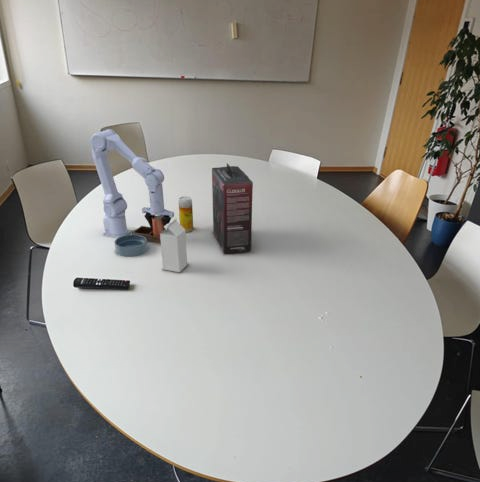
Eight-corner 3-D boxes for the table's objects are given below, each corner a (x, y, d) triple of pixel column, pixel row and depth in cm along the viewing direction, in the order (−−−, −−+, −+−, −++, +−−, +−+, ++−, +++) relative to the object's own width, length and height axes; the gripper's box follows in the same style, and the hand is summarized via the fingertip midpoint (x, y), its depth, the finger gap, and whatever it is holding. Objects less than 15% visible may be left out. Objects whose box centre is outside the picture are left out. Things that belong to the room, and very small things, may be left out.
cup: (150, 236, 188) (148, 219, 183) (157, 231, 192) (155, 214, 188) (162, 238, 186) (160, 221, 182) (169, 233, 191) (167, 216, 186)
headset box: (212, 231, 199) (210, 158, 182) (238, 229, 202) (239, 156, 184) (223, 254, 179) (222, 174, 161) (252, 252, 182) (254, 173, 164)
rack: (132, 239, 191) (131, 232, 189) (142, 232, 197) (141, 225, 196) (164, 245, 186) (163, 238, 184) (173, 238, 193) (172, 231, 191)
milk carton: (187, 264, 172) (184, 219, 161) (179, 272, 166) (176, 226, 156) (171, 262, 173) (167, 217, 163) (163, 269, 168) (158, 223, 158)
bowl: (109, 254, 179) (108, 244, 176) (127, 242, 189) (126, 232, 186) (136, 259, 175) (135, 249, 172) (153, 247, 185) (152, 237, 182)
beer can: (191, 232, 198) (189, 201, 190) (178, 231, 199) (176, 200, 191) (195, 227, 203) (193, 196, 195) (182, 226, 204) (180, 195, 196)
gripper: (136, 200, 180) (140, 231, 187) (167, 205, 175) (169, 236, 183) (145, 195, 185) (148, 225, 193) (175, 200, 181) (177, 230, 188)
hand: (159, 230), depth 188 cm, fingers closed on cup, 6 cm apart
